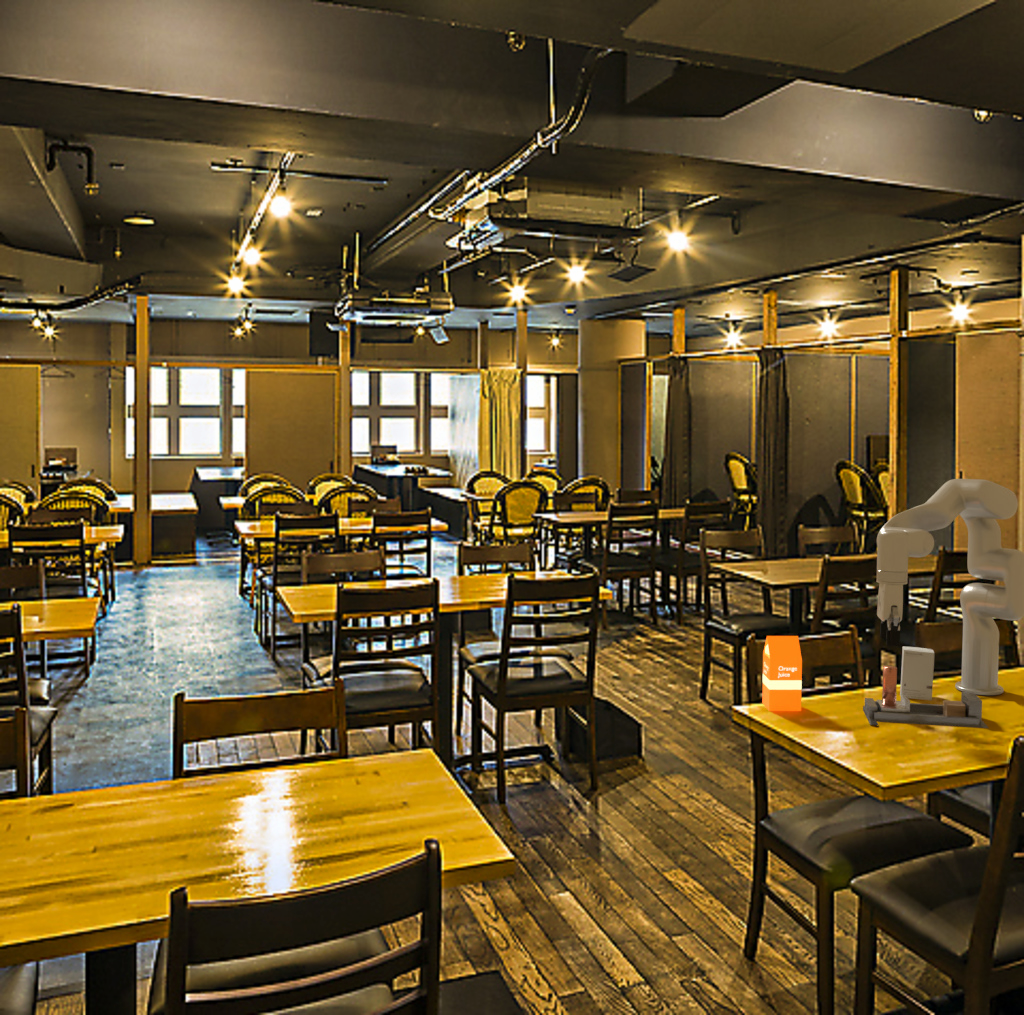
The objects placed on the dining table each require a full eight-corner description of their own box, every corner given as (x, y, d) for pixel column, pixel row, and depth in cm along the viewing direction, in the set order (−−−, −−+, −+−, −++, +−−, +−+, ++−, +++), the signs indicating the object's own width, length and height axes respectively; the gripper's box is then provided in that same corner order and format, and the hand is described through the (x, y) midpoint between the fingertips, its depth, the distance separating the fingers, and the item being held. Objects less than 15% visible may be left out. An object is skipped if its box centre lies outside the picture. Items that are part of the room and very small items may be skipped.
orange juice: (801, 711, 252) (802, 638, 250) (769, 711, 252) (770, 639, 250) (793, 703, 259) (794, 632, 258) (761, 703, 260) (762, 632, 258)
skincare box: (900, 701, 260) (902, 649, 259) (899, 696, 265) (901, 645, 264) (933, 704, 257) (934, 652, 256) (931, 698, 262) (933, 647, 261)
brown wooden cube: (942, 715, 243) (943, 700, 243) (960, 716, 242) (961, 701, 242) (946, 720, 239) (947, 705, 238) (965, 721, 238) (965, 706, 237)
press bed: (862, 710, 252) (863, 684, 252) (974, 716, 246) (975, 689, 245) (870, 725, 239) (871, 698, 238) (988, 732, 232) (989, 704, 232)
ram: (876, 708, 248) (877, 663, 247) (904, 710, 247) (905, 664, 246) (881, 717, 241) (882, 670, 240) (909, 718, 239) (911, 671, 238)
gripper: (871, 572, 250) (869, 634, 252) (882, 581, 234) (879, 648, 235) (901, 573, 249) (899, 636, 250) (913, 582, 232) (911, 649, 233)
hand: (889, 641), depth 242 cm, fingers open, 9 cm apart
